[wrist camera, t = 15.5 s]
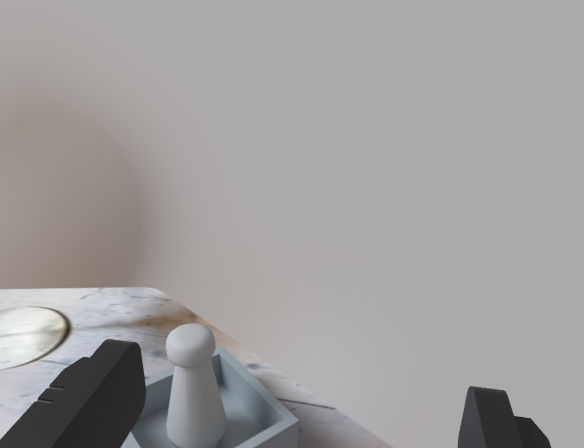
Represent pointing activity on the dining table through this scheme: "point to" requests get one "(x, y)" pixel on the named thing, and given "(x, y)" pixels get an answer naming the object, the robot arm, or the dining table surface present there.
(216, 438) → the salt shaker
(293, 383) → the dining table surface
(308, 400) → the dining table surface
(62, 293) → the dining table surface
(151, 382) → the bin
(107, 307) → the dining table surface
